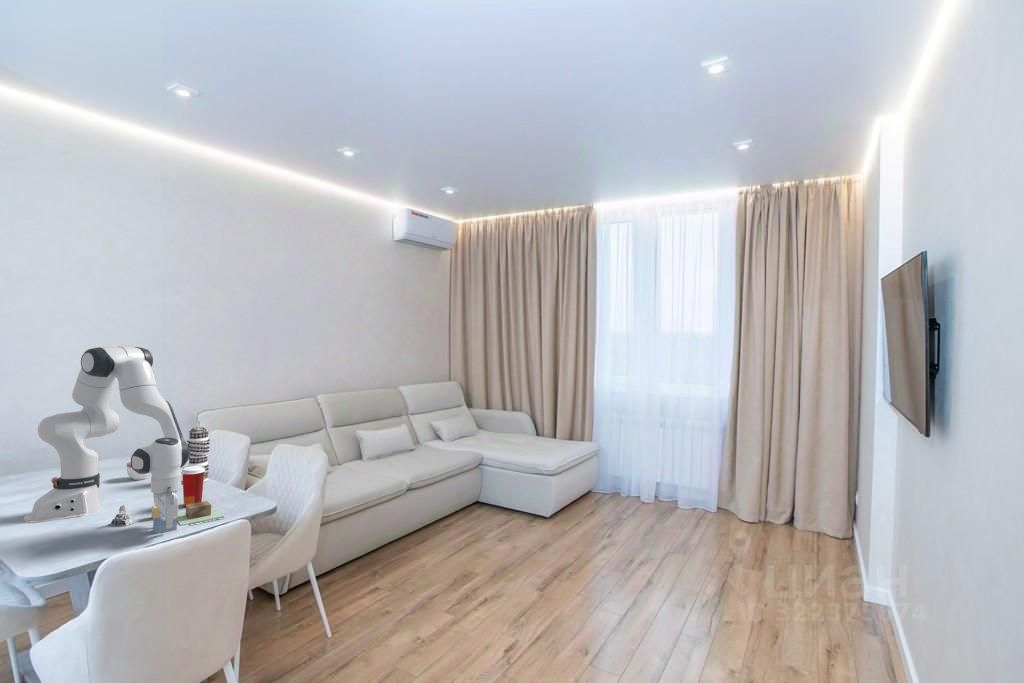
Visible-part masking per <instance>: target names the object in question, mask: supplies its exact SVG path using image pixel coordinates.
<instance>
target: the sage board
mask: <svg viewBox="0 0 1024 683" xmlns="http://www.w3.org/2000/svg"><path fill="white" fill-rule="evenodd" d="M176 518H177V524H179V525H180V526H186V525H187V526H189V525H191V524H196V523H200V522H205V521H209V520H213V519H219V518H224V519H225V515H224V514H223V513H222V512H220V511H219V509H217V508H216V507H215V506H211V515H209V516H204V517H200V518H195V519H189V518H188V517H187V516H186V511H183V512H178V516H177V517H176ZM205 523H206V522H205ZM200 524H201V523H200ZM196 525H197V524H196ZM191 526H192V525H191Z"/></svg>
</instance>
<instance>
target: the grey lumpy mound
mask: <svg viewBox="0 0 1024 683" xmlns="http://www.w3.org/2000/svg"><path fill="white" fill-rule="evenodd" d="M126 511H127V508H126V506H125V504H123V505H121V506H120V507H119V509H118V513H117V514H116V515H115V517H114V518H113V519H112V521H111V522H110V523H108V525H109V526H116V527H117V525H118V526H119V527H120V526H121V527H127V526H131V525H133V524H135V522H134V520H133V518H132V516H131V514H127V512H126Z"/></svg>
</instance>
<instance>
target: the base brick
mask: <svg viewBox="0 0 1024 683" xmlns="http://www.w3.org/2000/svg"><path fill="white" fill-rule="evenodd" d="M211 507H212V504H211V503H210V502H209V501H208V500H204V501H203V500H202V502H198V503H192V504H187V505H186V507H185V512H186V516H187V517H188V518H189V519H195V518H200V517H204V516H209V515H211Z"/></svg>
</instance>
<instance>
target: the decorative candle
mask: <svg viewBox="0 0 1024 683" xmlns="http://www.w3.org/2000/svg"><path fill="white" fill-rule="evenodd" d="M188 433H189V437H188V440H187V441H186V443H187V445H188V447H189V449H190V458H189V460H188V466H187V467H192V466H202V467H204V469H205V471H204V481H203V483H204V482H206V481H208V480H209V461H208V456H209V452H210V450H209V449H210V446H209V445H210V444H211V443H210V441H211V440H210V439H209V430H208V429H207V427H204V426H198V427H192V428H191V429H190V430H189V431H188Z"/></svg>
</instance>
